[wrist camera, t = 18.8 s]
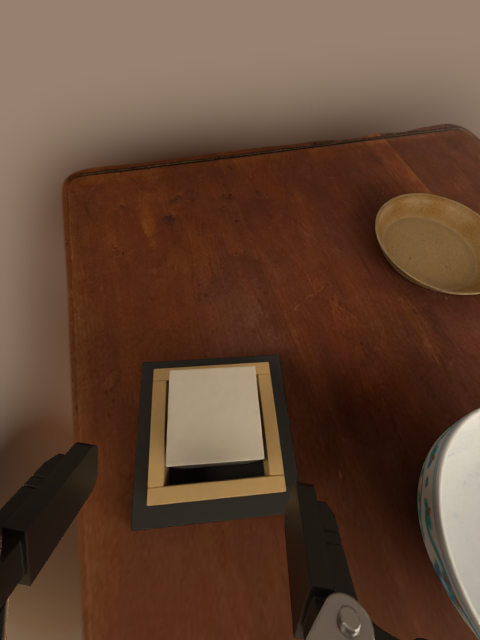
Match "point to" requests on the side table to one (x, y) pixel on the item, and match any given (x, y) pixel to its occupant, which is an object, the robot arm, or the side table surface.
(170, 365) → the wooden socket on base
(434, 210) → the plant saucer
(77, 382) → the side table surface
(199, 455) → the block
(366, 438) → the side table surface
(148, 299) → the side table surface
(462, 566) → the chinaware
